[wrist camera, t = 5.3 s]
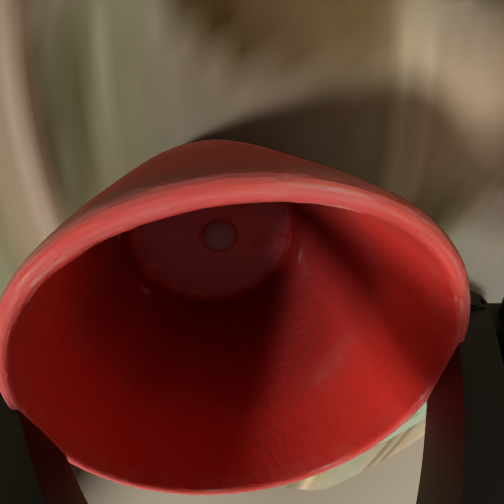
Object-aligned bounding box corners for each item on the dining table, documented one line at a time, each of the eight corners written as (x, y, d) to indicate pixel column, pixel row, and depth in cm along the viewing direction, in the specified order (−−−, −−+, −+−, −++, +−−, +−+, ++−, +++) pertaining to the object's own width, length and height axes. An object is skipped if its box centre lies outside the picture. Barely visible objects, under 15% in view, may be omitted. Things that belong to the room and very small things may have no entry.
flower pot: (352, 266, 17) (450, 417, 8) (167, 342, 17) (169, 510, 9) (286, 63, 11) (476, 64, 3) (51, 182, 12) (-84, 342, 4)
